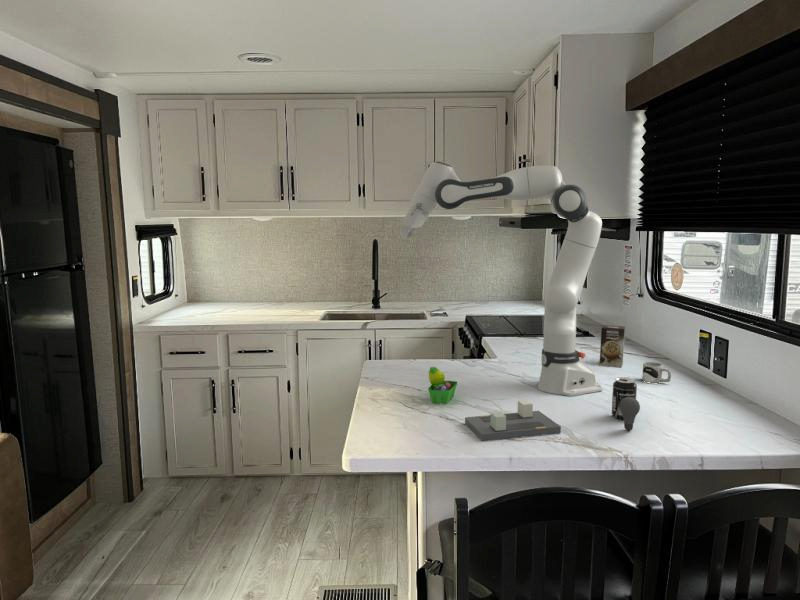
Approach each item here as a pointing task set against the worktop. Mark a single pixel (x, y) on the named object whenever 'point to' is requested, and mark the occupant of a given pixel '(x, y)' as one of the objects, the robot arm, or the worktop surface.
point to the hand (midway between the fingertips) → (405, 237)
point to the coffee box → (612, 346)
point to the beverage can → (622, 394)
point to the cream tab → (525, 408)
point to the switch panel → (512, 426)
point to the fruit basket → (440, 387)
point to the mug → (654, 372)
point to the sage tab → (498, 421)
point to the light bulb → (629, 411)
